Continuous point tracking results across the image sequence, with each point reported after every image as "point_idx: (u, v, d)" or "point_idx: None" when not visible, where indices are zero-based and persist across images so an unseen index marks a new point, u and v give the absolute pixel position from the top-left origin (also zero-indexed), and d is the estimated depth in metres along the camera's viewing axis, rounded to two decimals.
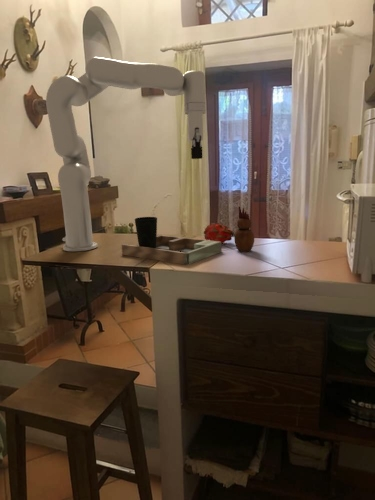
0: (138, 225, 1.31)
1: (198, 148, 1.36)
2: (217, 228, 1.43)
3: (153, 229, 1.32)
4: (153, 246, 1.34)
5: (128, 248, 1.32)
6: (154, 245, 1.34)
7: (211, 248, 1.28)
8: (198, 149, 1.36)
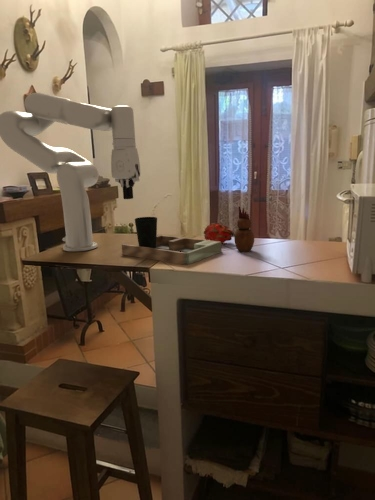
0: (138, 225, 1.31)
1: (131, 188, 1.35)
2: (217, 228, 1.43)
3: (153, 229, 1.32)
4: (153, 246, 1.34)
5: (128, 248, 1.32)
6: (154, 245, 1.34)
7: (211, 248, 1.28)
8: (131, 189, 1.35)
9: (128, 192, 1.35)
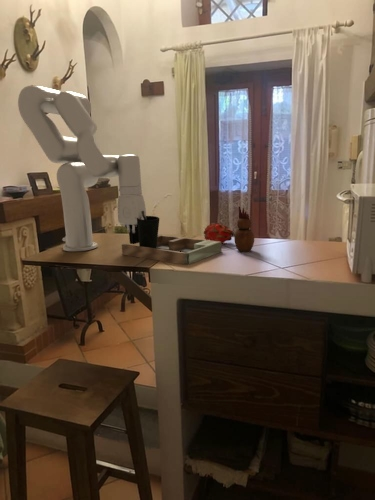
0: (140, 224, 1.31)
1: (137, 233, 1.38)
2: (217, 228, 1.43)
3: (155, 229, 1.31)
4: (153, 246, 1.33)
5: (128, 248, 1.32)
6: (154, 245, 1.34)
7: (211, 248, 1.28)
8: (137, 234, 1.38)
9: (134, 237, 1.37)
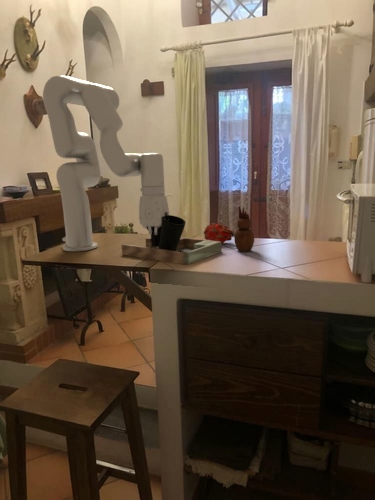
0: (165, 226, 1.24)
1: (159, 236, 1.32)
2: (217, 228, 1.43)
3: (179, 234, 1.26)
4: (174, 249, 1.28)
5: (128, 248, 1.32)
6: (175, 248, 1.28)
7: (211, 248, 1.28)
8: (159, 237, 1.32)
9: (156, 239, 1.31)
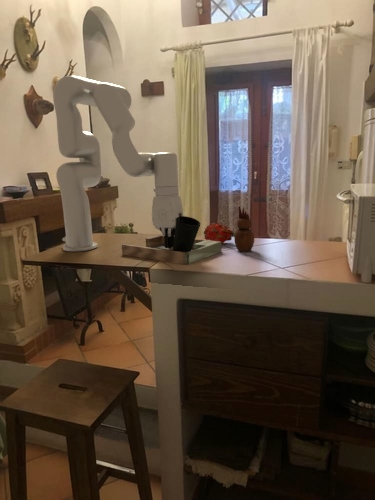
0: (179, 227, 1.21)
1: (173, 237, 1.28)
2: (217, 228, 1.43)
3: (194, 235, 1.22)
4: (188, 251, 1.25)
5: (128, 248, 1.32)
6: (189, 250, 1.25)
7: (211, 248, 1.28)
8: (173, 238, 1.28)
9: (170, 241, 1.28)
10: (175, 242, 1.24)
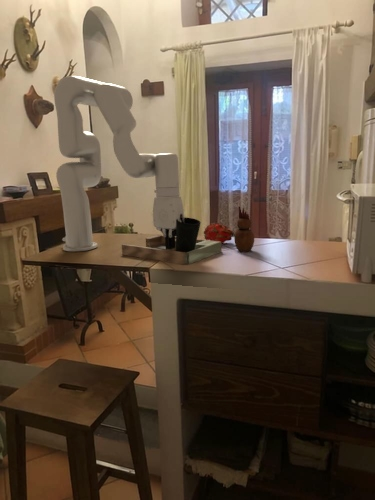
0: (180, 227, 1.20)
1: (174, 238, 1.28)
2: (217, 228, 1.43)
3: (195, 234, 1.22)
4: None
5: (128, 248, 1.32)
6: None
7: (211, 248, 1.28)
8: (174, 239, 1.28)
9: (171, 242, 1.28)
10: (177, 243, 1.23)
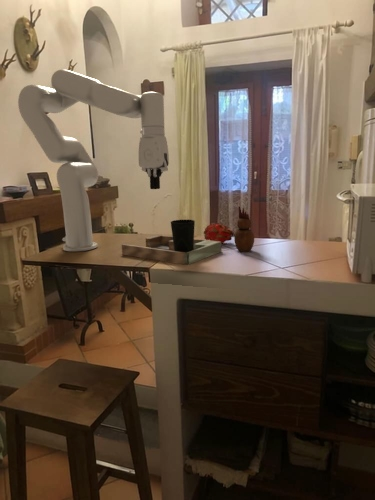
0: (175, 228, 1.22)
1: (158, 178, 1.31)
2: (217, 228, 1.42)
3: (191, 233, 1.22)
4: None
5: (128, 248, 1.32)
6: (191, 250, 1.24)
7: (211, 248, 1.28)
8: (158, 179, 1.32)
9: (155, 182, 1.31)
10: (175, 245, 1.24)
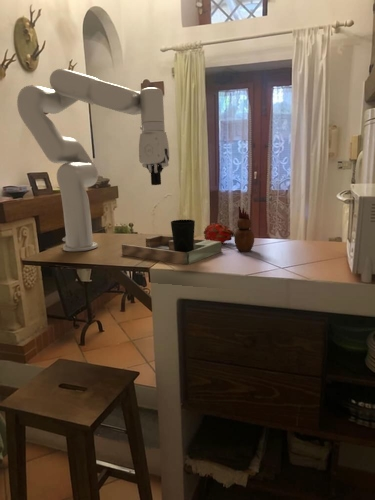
0: (175, 228, 1.22)
1: (159, 174, 1.31)
2: (217, 228, 1.43)
3: (191, 233, 1.22)
4: None
5: (128, 248, 1.32)
6: (191, 250, 1.24)
7: (211, 248, 1.28)
8: (159, 175, 1.31)
9: (156, 178, 1.31)
10: (175, 245, 1.24)
